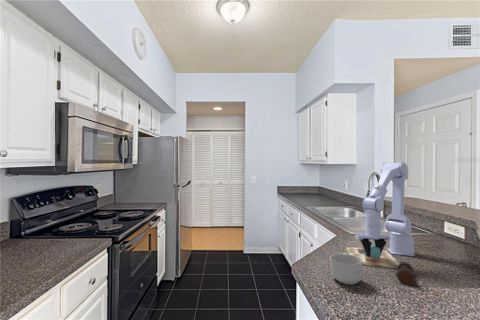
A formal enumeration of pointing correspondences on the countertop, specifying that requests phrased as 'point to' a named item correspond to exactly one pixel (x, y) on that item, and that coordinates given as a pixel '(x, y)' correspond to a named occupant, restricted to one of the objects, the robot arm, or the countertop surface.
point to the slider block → (374, 252)
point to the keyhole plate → (384, 260)
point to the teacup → (346, 268)
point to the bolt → (405, 274)
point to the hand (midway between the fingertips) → (373, 256)
